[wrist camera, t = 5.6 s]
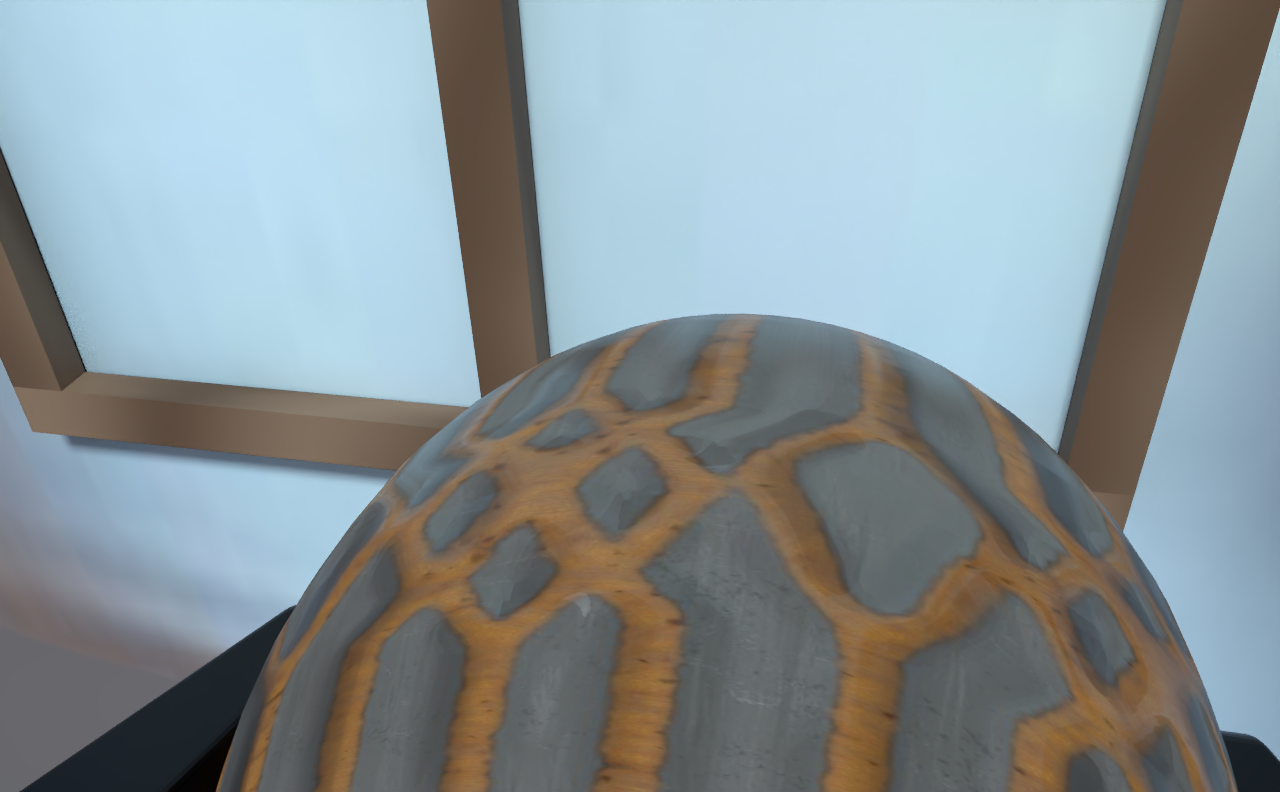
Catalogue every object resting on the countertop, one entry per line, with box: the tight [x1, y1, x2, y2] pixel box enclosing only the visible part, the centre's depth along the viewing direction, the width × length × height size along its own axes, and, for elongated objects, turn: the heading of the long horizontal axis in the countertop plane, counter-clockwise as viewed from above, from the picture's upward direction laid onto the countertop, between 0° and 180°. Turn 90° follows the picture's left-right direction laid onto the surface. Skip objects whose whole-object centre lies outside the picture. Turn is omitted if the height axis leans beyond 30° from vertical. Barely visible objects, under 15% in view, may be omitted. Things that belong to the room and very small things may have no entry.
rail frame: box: [0, 0, 1280, 532], centre depth 18 cm, size 23×12×1 cm, turn 91°
